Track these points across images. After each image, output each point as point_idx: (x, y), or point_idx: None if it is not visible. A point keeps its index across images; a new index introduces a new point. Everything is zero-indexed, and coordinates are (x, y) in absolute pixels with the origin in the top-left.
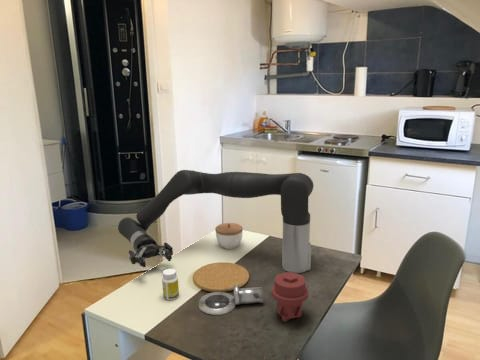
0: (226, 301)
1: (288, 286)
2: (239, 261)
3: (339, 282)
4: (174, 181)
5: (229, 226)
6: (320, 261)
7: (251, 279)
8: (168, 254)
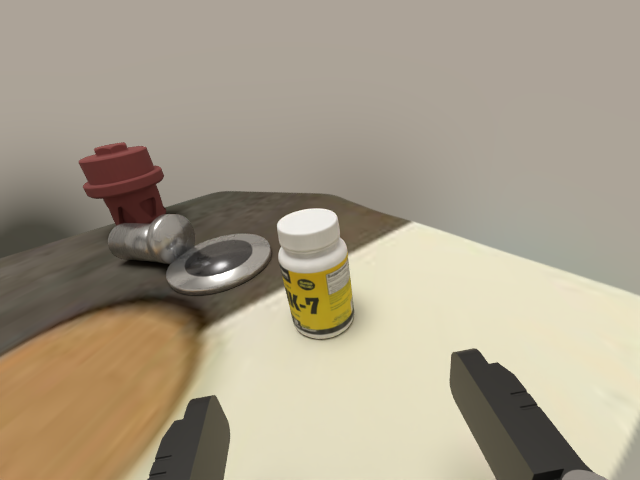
0: (201, 252)
1: (140, 146)
2: None
3: None
4: None
5: None
6: None
7: (23, 337)
8: (196, 416)
